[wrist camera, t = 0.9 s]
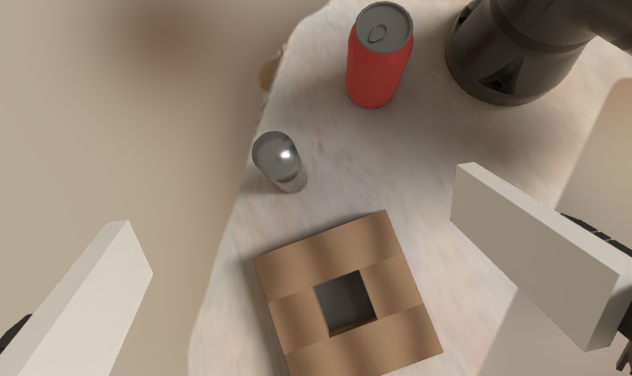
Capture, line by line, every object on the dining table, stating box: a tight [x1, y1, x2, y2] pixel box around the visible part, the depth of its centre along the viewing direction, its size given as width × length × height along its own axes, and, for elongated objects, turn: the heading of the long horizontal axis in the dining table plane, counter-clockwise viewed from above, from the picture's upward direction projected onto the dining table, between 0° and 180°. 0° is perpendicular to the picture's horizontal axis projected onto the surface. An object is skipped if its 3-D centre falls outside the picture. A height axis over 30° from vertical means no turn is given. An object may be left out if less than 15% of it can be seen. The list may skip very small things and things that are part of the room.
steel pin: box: [252, 131, 307, 193], centre depth 34 cm, size 4×4×12 cm
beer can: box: [346, 1, 413, 108], centre depth 36 cm, size 7×7×12 cm
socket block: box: [253, 209, 443, 376], centre depth 36 cm, size 16×16×4 cm
